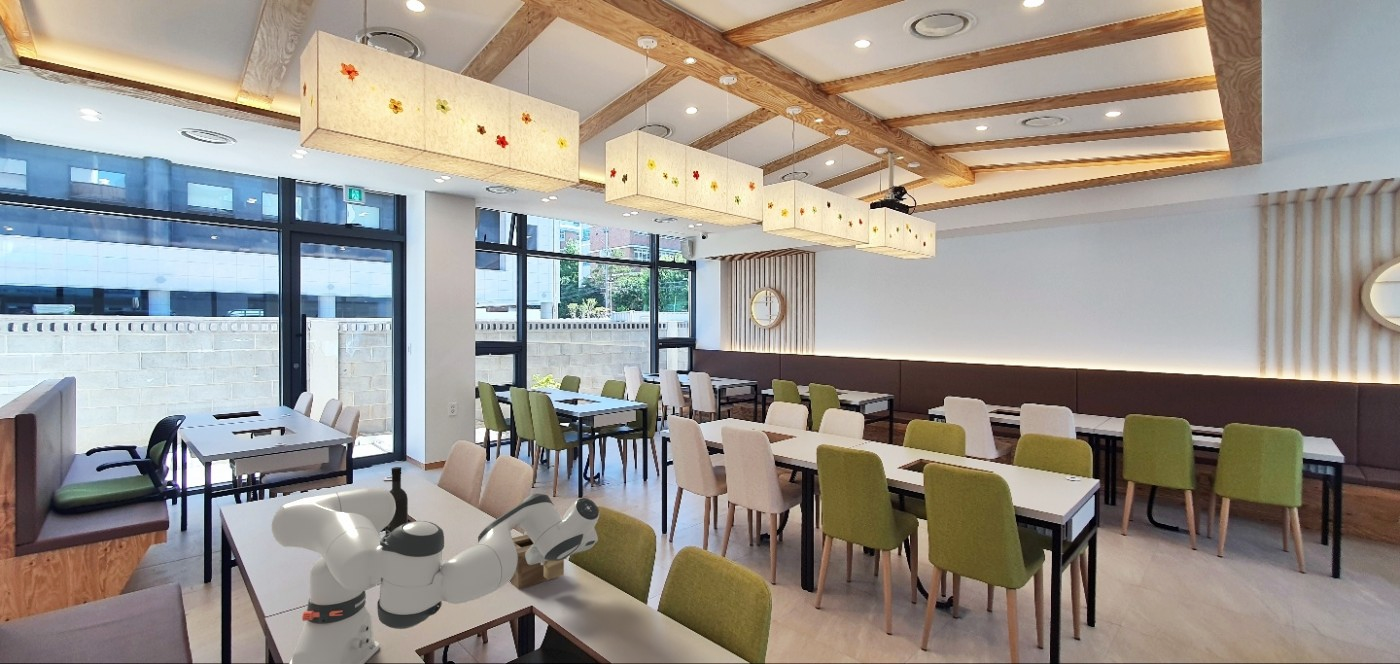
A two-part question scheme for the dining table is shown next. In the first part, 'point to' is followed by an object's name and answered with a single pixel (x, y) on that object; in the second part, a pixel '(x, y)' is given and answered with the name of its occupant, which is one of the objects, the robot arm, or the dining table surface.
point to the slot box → (526, 565)
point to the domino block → (554, 569)
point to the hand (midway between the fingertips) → (552, 559)
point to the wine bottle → (398, 502)
